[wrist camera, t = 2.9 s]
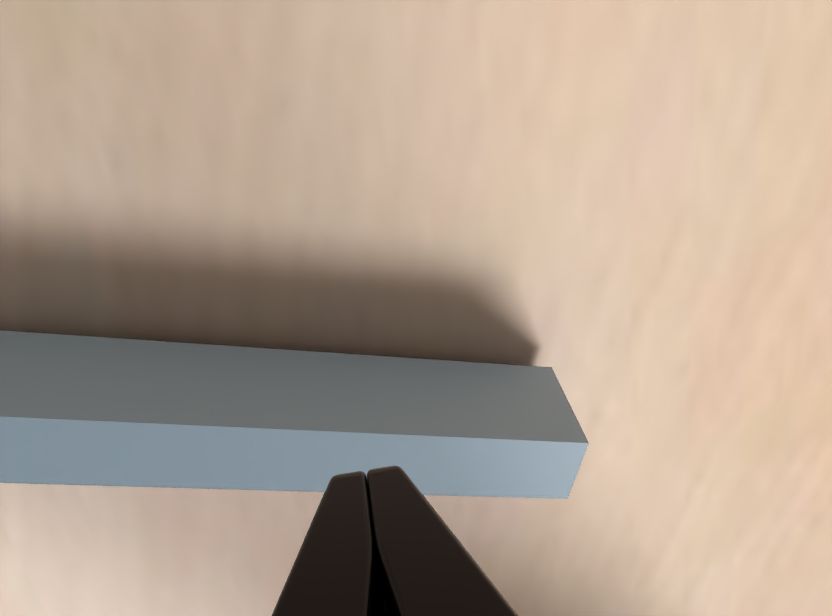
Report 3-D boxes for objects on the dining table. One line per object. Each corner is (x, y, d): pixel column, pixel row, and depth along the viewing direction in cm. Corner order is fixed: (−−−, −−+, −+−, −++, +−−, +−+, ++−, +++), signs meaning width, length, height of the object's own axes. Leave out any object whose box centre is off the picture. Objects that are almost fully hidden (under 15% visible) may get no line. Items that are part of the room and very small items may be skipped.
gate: (-24, 328, 18) (-74, 413, 15) (551, 367, 21) (588, 443, 18) (-17, 391, 19) (-63, 481, 16) (533, 419, 22) (567, 499, 19)
